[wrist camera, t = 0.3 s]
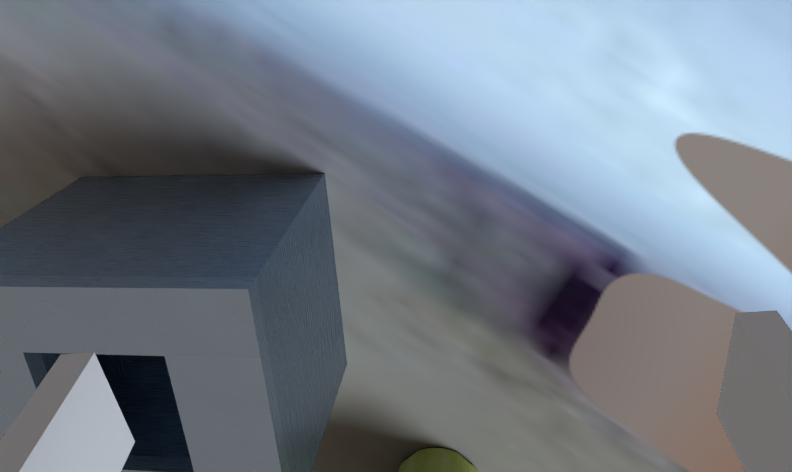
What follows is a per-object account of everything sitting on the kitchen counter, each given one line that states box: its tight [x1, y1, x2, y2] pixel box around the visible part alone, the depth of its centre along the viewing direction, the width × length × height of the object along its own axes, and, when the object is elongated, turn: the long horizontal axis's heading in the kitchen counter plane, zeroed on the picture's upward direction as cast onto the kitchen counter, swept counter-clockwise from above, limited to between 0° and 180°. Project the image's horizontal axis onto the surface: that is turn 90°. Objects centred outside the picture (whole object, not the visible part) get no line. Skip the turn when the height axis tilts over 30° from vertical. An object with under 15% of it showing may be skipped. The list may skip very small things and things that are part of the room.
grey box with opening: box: [0, 173, 347, 472], centre depth 38 cm, size 14×16×14 cm
